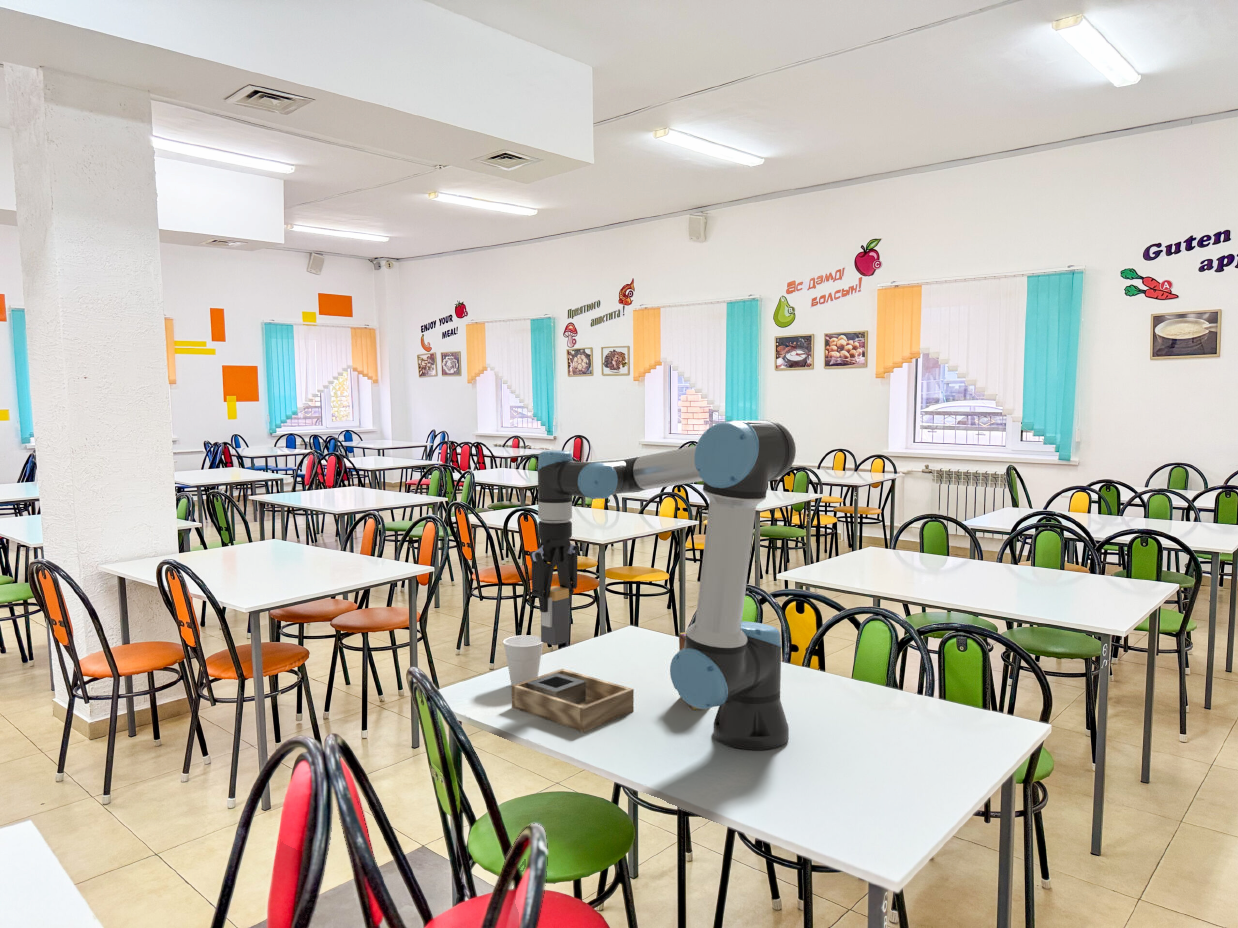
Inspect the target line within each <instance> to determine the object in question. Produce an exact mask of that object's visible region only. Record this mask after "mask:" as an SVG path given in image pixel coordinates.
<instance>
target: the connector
mask: <svg viewBox="0 0 1238 928" xmlns="http://www.w3.org/2000/svg"><path fill="white" fill-rule="evenodd" d="M544 592H545V591H544ZM549 597H551V598H552V627H546V626H542V625H541V624H540V637H541V642H543V644H548V645H551V646H559V645H562V644H566V643H567V642H569V640H570V628H569V627H570V606H569V589H568V588H563V587H560V586H557V585H551V589H550V596H549Z"/></svg>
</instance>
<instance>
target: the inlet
mask: <svg viewBox="0 0 1238 928" xmlns="http://www.w3.org/2000/svg"><path fill="white" fill-rule="evenodd" d="M527 689H531V690H534V691H537V692H540V693H543V694H546V695H549V696H553V697H556V698H559V699H562V700H565V701H568V702H571V703H575V704H579V703H582V702H584V701H586V681H583V680H579V679H576V678H573V677H569V676H566V675H562V674H559V673H554V674H551V675H548V676H545V677H542V678H539V679H536V680H533V681H530V682H527Z"/></svg>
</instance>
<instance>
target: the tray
mask: <svg viewBox="0 0 1238 928" xmlns="http://www.w3.org/2000/svg"><path fill="white" fill-rule="evenodd" d="M554 673H559V674H562V675H566V676H569V677H573V678H576V679H579V680H583V681H586V701H584V702H582V703H579V704H575V703H571V702H568V701H565V700H562V699H559V698H556V697H553V696H549V695H546V694H543V693H540V692H537V691H534V690H531V689H527V682H530V681H533V680H536V679H539V678H542V677H545V676H548V675H551V674H554ZM634 691H635V690H634V688H632V687H628V686H624V685H621V684H617V683H614V682H610V681H607V680H603V679H600V678H596V677H593V676H590V675H587V674H582V673H579V672H575V671H572V670H568V669H565V668H561V669H557V670H555V671H552V672H549V673H545V674H543V675H538V677H536V678H533V679H530V680H527V681H524V682H521V683H518V684H515V685H511V708H512V709H515V710H517V711H519V712H520V711H521V712H523V713H526V714H529V715H532V716H535V717H538V718H541V719H544V720H547V721H549V722H553V723H554V724H559V725H561V726H565V727H567V728H569V729H572V730H576V731H577V732H578V731H579V732H582V733H585V732H588V731H590V730H592V729H595V728H597V727H600V726H602V725H604V724H607V723H609V722H611V721H615V720H617V719H619V718H621V717H623V716H626V715H628V714H631V713H633V712H634V711H635V710H634V709H635V708H634V694H635V693H634Z"/></svg>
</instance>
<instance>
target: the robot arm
mask: <svg viewBox="0 0 1238 928" xmlns="http://www.w3.org/2000/svg"><path fill="white" fill-rule="evenodd" d="M796 451H797V449H796V442H795V439H794V438H793V436H792V434H791V432H790V431H789V430H788V428H786V427H785V426H784V425H783V424H780V423H779V422H777V421H776V422H775V421H774V420H768V419H760V420H759V419H758V420H739V419H738V420H737V419H736V420H734V419H731V420H728V421H723V422H719V423H716V424H713V425H712V426H709V428H707V429H706V430H705V431H704V432H703V434H702V435H700V437H699V439H698V442H697V443H696V445H692V446H687V447H683V448H682V447H681V448H677V449H672V450H667V451H663V452H658V453H653V454H652V453H651V454H646V455H642V456H636V457H631V458H624V459H617V460H601V461H574V459H573V454H572V452H571V451H568V450H544V451H541V452H540V453H539V454H538V457H537V458H538V461H537V489H538V490H537V518H538V519H539V521H538V523H537V536H538V539H539V540H540V542H539V546H538V549H537V550H535V551H530V552H529V558H530V561H531V595H533V596H536V597H538V599H539V611H540V626H541V625H542V626H546V627H552V598H551V597H549V596H550V589H551V587H552V583H553V576H554V569H555V568H556V571H557V579H558V583H559V587H563V588H568V589H569V607H570V605H571V594H574V592H575V590H576V589H577V588H578V556H579V551H580V546H579V545H576V544H572V543H571V540H570V539H571V538H572V535H573V522H572V521H571V520H572V518H573V496H574V497H581V498H582V497H583V498H588V499H591V500H596V499H599V500H601V499H603V500H605V499H608V498H610V497H611V496H614V495H619V494H628V493H629V494H630V493H631V494H632V493H640V492H642V491H647V490H653V489H658V488H659V489H660V488H666V487H673V486H679V485H680V486H681V485H685V484H692V483H699V482H703V486H702V491H703V493H704V494H705V496H706V497H707V498H708V499H709V505H708V513H707V519H706V527H705V528H706V529H705V537H704V545H703V546H704V547H703V555H702V563H701V571H700V579H699V581H700V582H699V588H698V589H699V590H698V598H697V605H696V612H695V613H696V615H695V621H694V623H692V624H691V625H689V626H688V627H687V628H686V631H685V632H686V637H685V645H684V649H681V650H680V651H679V650H678V651H677V653H675V654H674V656H673V657H672V659H671V662H670V668H669V675H670V679H671V682H672V686H673V688H674V689H675V691H677V692H678V693H677V694H678V695H679V697H680V698H681V699H682V700H683V701H684V702H685V703H687V705H688V706H690V705H691V706H693V707H696V708H699V710H707V709H711V708H714V707H718V709H717V710H716V715H715V718H714V721H713V737H714V738H715V739H716V740H717V742H720V743H721V744H724V745H727V746H729V747H733V748H737V749H743V750H753V751H759V750H762V751H763V750H769V749H770V750H771V749H776V748H779V747H782V746H783V745H785V744H786V743H787V742H788V740H789V738H790V737H789V736H790V735H789V732H790V730H789V729H790V728H789V724H788V722H787V721H788V720H787V718H786V714H785V712H784V707H783V703H782V701H781V680H782V679H781V678H782V677H781V674H782V673H781V672H782V669H781V668H782V665H781V664H782V648H783V646H782V640H781V639H782V638H781V632H780V630H779V629H778V628H776V627H775V626H773V625H769V624H766V623H761V622H754V621H747V620H746V621H743V615H744V614H743V613H744V604H745V598H746V597H745V596H746V592H747V591H746V589H747V583H748V573H749V567H750V566H749V565H750V558H751V550H752V542H753V534H754V526H755V518H756V512H757V511H756V510H757V506H759V504H761V503H762V502H763V501H764V500H766V497H767V492H768V490H767V489H768V483H769V482H771V481H774V480H777V479H778V478H779V479H780V478H781V477H783V476H784V475H785V474H786V473H788V471H789V470H790V469H791V467H792V465H793V464H794V461H795V459H796ZM544 591H545V592H544ZM691 706H690V707H691Z"/></svg>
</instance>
